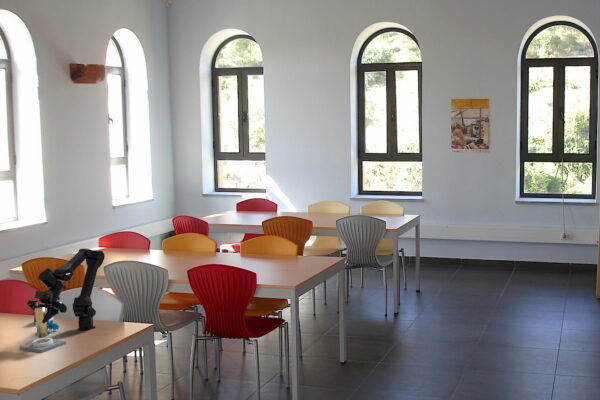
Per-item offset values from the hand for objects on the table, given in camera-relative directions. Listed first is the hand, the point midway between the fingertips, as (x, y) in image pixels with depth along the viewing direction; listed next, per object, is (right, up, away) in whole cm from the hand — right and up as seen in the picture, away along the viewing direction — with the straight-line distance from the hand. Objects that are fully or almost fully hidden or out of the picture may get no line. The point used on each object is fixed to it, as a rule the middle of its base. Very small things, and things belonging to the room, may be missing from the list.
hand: (39, 322), depth 345 cm
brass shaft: (+1, -6, +2) cm, 7 cm away
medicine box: (-12, -7, +48) cm, 50 cm away
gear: (-5, -9, +27) cm, 29 cm away
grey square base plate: (+1, -11, +2) cm, 11 cm away
